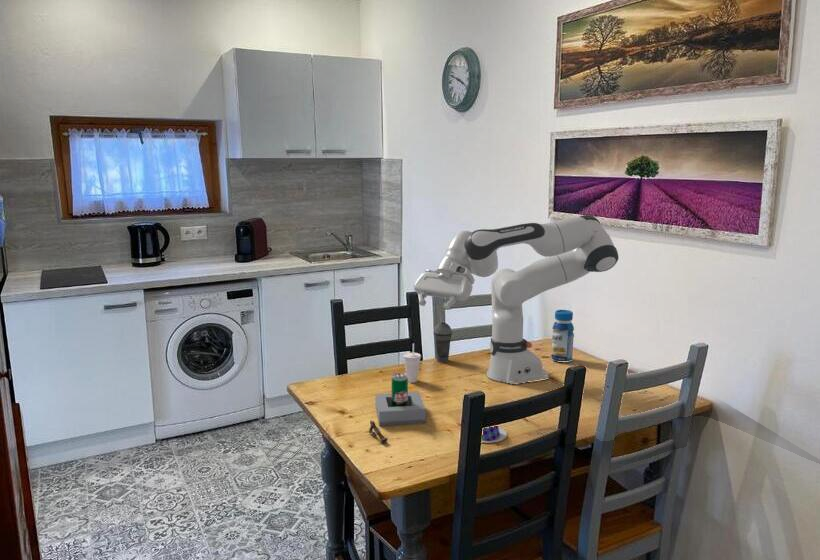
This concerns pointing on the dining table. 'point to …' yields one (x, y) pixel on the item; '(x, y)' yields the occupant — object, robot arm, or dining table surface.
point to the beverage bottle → (562, 336)
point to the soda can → (399, 390)
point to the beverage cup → (442, 341)
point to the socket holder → (400, 410)
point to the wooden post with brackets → (377, 432)
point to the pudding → (493, 434)
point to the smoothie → (412, 365)
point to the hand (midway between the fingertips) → (433, 306)
